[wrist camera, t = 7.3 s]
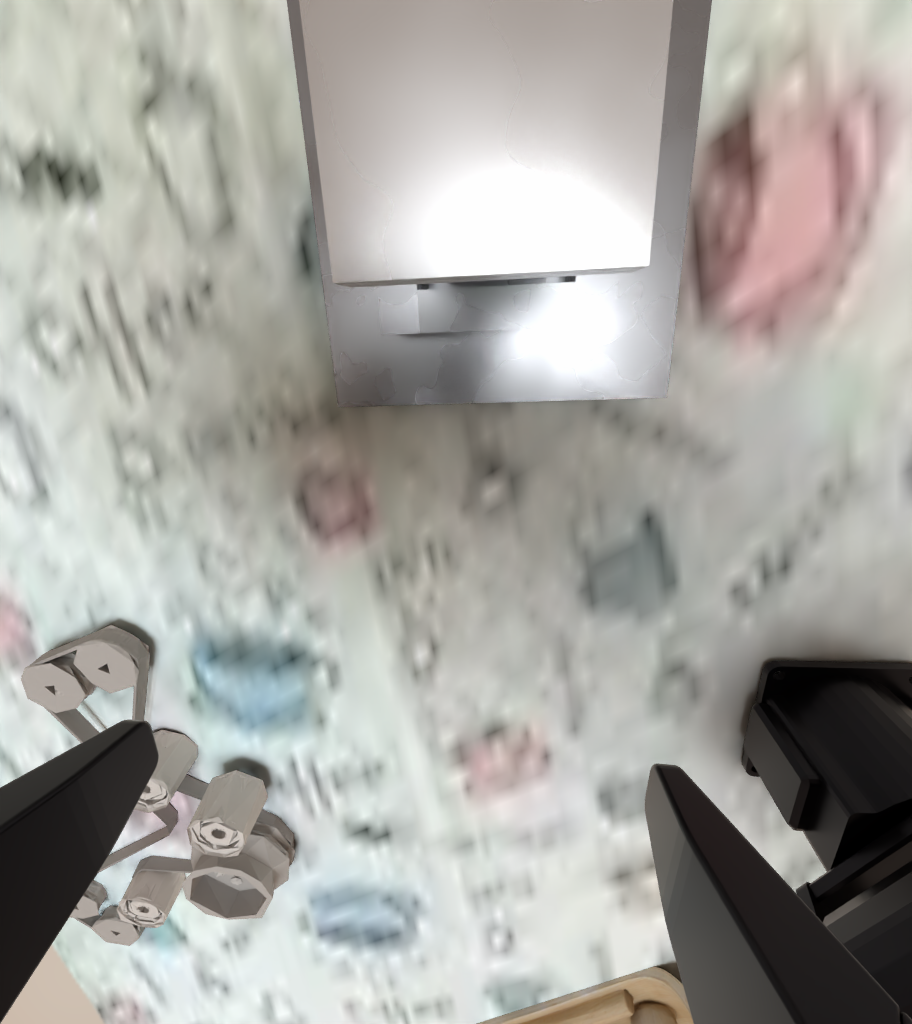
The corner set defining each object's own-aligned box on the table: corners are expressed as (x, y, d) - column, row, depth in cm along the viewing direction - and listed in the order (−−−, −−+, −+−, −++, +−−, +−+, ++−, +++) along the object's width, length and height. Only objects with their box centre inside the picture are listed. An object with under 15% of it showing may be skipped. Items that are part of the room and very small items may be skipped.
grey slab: (578, 41, 11) (724, -505, 4) (568, 300, 13) (652, 266, 6) (408, 58, 12) (245, -407, 4) (423, 307, 14) (329, 283, 6)
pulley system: (341, 664, 25) (47, 594, 24) (312, 739, 21) (-46, 658, 20) (280, 937, 36) (77, 897, 35) (254, 1023, 32) (20, 980, 31)
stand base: (704, -36, 14) (767, -149, 10) (658, 394, 18) (692, 408, 15) (299, 10, 15) (242, -79, 12) (346, 403, 19) (314, 418, 16)
